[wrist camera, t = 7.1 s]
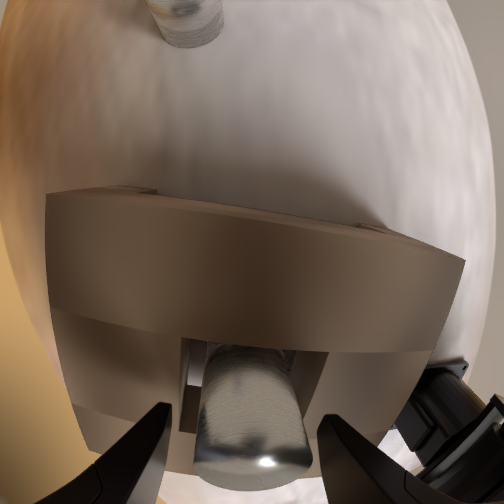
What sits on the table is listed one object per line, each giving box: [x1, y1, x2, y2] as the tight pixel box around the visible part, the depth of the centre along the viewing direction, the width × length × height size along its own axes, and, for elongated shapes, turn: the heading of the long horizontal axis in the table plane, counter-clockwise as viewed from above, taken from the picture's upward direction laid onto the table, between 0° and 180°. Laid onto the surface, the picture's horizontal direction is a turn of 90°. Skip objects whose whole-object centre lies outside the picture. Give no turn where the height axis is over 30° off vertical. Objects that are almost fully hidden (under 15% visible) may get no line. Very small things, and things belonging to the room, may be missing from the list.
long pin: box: [193, 341, 313, 491], centre depth 10 cm, size 3×3×9 cm
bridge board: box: [45, 186, 466, 479], centre depth 12 cm, size 14×12×6 cm
